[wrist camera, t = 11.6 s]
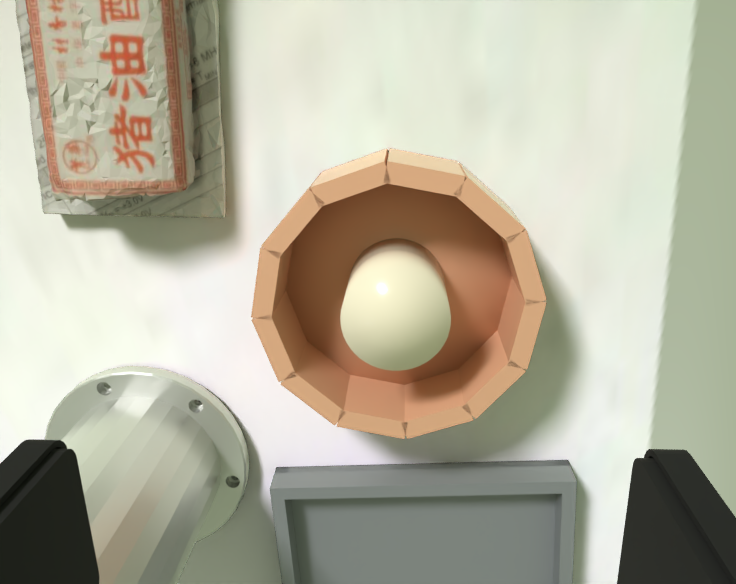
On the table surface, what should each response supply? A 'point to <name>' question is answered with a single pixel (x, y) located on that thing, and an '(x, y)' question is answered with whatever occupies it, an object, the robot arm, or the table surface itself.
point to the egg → (396, 306)
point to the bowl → (462, 281)
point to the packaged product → (125, 106)
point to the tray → (426, 523)
